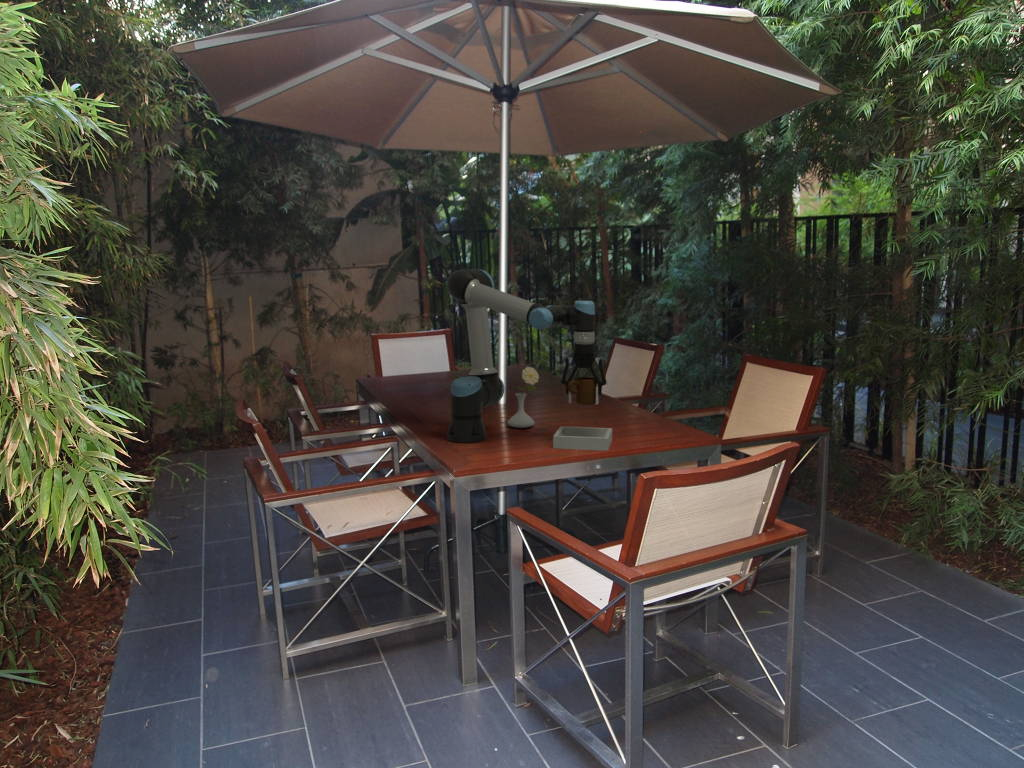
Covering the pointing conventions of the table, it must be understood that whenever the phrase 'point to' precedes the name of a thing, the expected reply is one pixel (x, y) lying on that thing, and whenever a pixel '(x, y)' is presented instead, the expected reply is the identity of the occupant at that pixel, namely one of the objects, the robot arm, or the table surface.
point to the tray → (582, 438)
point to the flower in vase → (521, 417)
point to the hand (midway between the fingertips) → (583, 403)
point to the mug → (584, 390)
